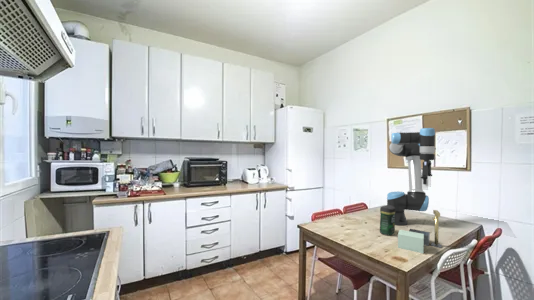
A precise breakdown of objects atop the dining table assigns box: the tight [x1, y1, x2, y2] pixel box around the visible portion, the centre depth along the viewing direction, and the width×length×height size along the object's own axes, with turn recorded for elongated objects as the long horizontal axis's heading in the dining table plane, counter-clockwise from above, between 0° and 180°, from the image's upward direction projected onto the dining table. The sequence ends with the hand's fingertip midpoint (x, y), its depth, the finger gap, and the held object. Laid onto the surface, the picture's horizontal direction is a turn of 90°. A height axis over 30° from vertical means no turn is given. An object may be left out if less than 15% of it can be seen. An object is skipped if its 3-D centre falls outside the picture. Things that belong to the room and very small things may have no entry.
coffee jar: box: [379, 204, 396, 236], centre depth 152 cm, size 10×8×19 cm
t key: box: [432, 209, 441, 245], centre depth 134 cm, size 8×2×19 cm, turn 154°
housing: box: [408, 228, 442, 249], centre depth 136 cm, size 16×7×6 cm, turn 50°
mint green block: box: [397, 229, 425, 254], centre depth 130 cm, size 12×9×8 cm
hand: (426, 188), depth 140 cm, fingers open, 13 cm apart
